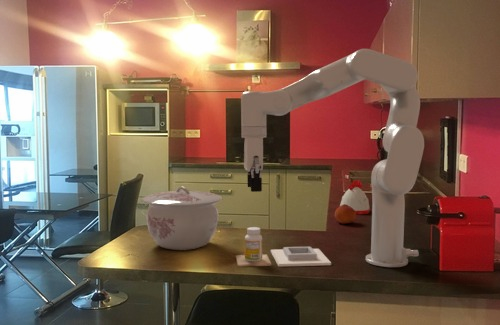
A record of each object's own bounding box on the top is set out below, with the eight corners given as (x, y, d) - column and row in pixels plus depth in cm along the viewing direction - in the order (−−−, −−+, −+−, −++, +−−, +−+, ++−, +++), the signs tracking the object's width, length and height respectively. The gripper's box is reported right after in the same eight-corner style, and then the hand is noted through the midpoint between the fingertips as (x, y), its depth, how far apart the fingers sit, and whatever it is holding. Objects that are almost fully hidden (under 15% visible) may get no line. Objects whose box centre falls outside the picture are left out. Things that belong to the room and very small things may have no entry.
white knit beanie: (375, 212, 233) (376, 180, 231) (355, 215, 225) (355, 182, 224) (354, 207, 244) (354, 177, 243) (333, 210, 236) (334, 179, 235)
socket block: (318, 250, 164) (318, 243, 163) (331, 265, 148) (331, 257, 148) (270, 252, 162) (270, 244, 162) (278, 266, 146) (278, 258, 146)
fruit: (350, 226, 201) (351, 207, 201) (331, 223, 207) (331, 204, 206) (359, 222, 208) (360, 204, 208) (340, 220, 214) (341, 202, 213)
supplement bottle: (252, 256, 155) (252, 225, 154) (265, 259, 152) (266, 228, 151) (241, 259, 151) (241, 228, 150) (254, 263, 147) (255, 231, 146)
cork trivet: (266, 256, 157) (266, 254, 157) (271, 265, 147) (271, 263, 147) (235, 257, 156) (235, 255, 156) (238, 266, 146) (238, 264, 146)
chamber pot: (211, 258, 154) (211, 193, 152) (128, 254, 159) (127, 190, 157) (230, 237, 181) (230, 181, 179) (160, 234, 186) (159, 179, 184)
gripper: (239, 132, 156) (239, 185, 158) (244, 133, 139) (244, 193, 140) (262, 131, 157) (263, 185, 158) (270, 133, 140) (270, 193, 141)
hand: (254, 189), depth 149 cm, fingers open, 9 cm apart
